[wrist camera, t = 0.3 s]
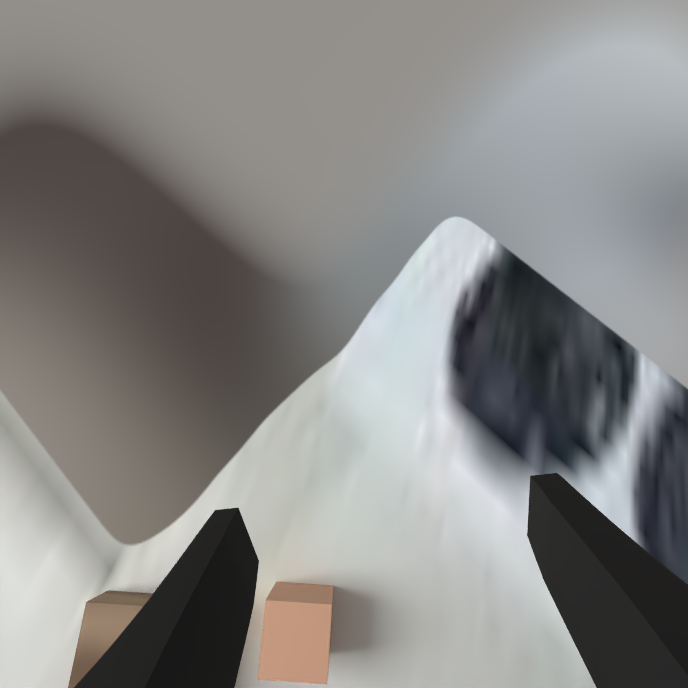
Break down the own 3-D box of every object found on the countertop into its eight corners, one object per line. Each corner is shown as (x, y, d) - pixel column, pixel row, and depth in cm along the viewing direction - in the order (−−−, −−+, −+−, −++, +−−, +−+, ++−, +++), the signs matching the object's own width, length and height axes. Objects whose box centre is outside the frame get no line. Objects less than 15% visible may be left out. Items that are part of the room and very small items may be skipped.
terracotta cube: (329, 652, 34) (327, 684, 29) (270, 648, 34) (257, 679, 29) (333, 585, 35) (331, 604, 30) (276, 581, 35) (265, 600, 30)
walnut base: (204, 742, 32) (190, 770, 29) (79, 733, 32) (53, 760, 29) (222, 598, 35) (211, 610, 32) (107, 590, 35) (86, 602, 32)
